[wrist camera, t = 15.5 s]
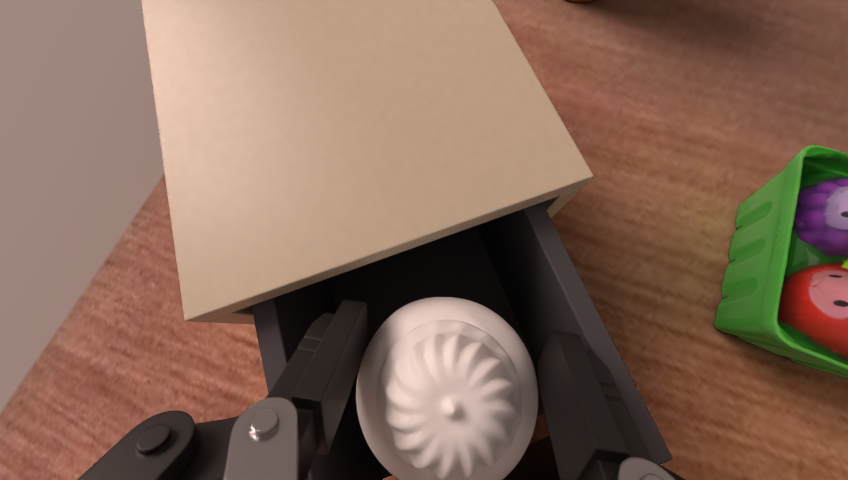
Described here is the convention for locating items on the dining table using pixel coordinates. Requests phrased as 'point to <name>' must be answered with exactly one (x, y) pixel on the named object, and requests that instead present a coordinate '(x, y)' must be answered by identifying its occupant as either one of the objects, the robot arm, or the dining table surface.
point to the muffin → (447, 392)
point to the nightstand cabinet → (340, 137)
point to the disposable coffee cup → (582, 0)
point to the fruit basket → (793, 264)
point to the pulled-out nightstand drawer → (472, 280)
